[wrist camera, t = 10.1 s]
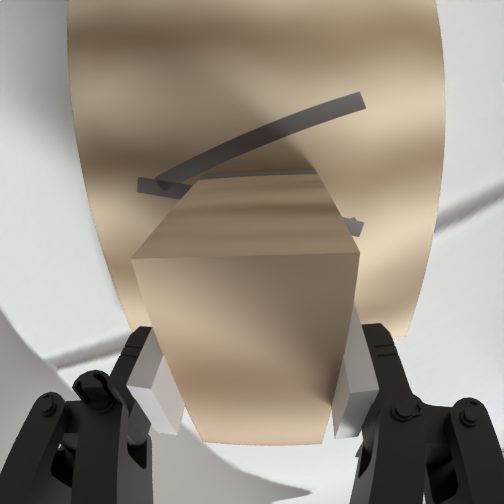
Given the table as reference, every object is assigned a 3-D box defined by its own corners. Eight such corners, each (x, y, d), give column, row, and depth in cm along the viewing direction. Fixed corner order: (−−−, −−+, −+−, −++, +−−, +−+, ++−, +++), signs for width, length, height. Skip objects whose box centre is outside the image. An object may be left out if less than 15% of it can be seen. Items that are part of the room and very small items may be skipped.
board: (83, 0, 10) (68, -5, 8) (415, -28, 8) (426, -37, 6) (142, 326, 20) (135, 340, 19) (399, 321, 18) (406, 336, 17)
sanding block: (202, 175, 13) (130, 259, 6) (315, 169, 12) (360, 252, 6) (225, 328, 17) (202, 441, 11) (310, 326, 17) (321, 443, 10)
